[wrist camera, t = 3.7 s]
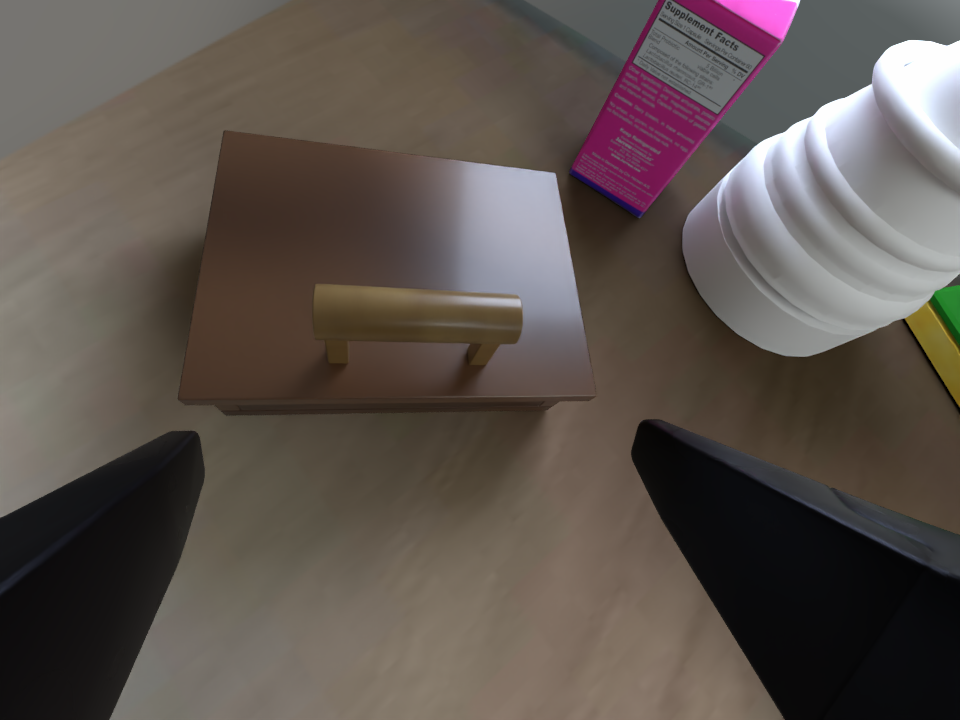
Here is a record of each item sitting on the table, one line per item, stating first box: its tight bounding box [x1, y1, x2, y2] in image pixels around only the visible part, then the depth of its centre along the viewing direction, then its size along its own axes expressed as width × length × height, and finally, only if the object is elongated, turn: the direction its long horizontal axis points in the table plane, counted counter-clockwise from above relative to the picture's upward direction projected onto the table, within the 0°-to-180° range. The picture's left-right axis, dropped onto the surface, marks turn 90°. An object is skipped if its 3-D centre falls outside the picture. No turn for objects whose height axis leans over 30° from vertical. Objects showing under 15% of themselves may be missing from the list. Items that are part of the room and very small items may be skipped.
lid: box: [178, 130, 597, 405], centre depth 16 cm, size 11×15×5 cm
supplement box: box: [569, 0, 800, 218], centre depth 25 cm, size 6×6×12 cm
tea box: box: [214, 401, 559, 416], centre depth 20 cm, size 11×15×4 cm
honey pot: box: [682, 40, 960, 357], centre depth 22 cm, size 13×13×18 cm
